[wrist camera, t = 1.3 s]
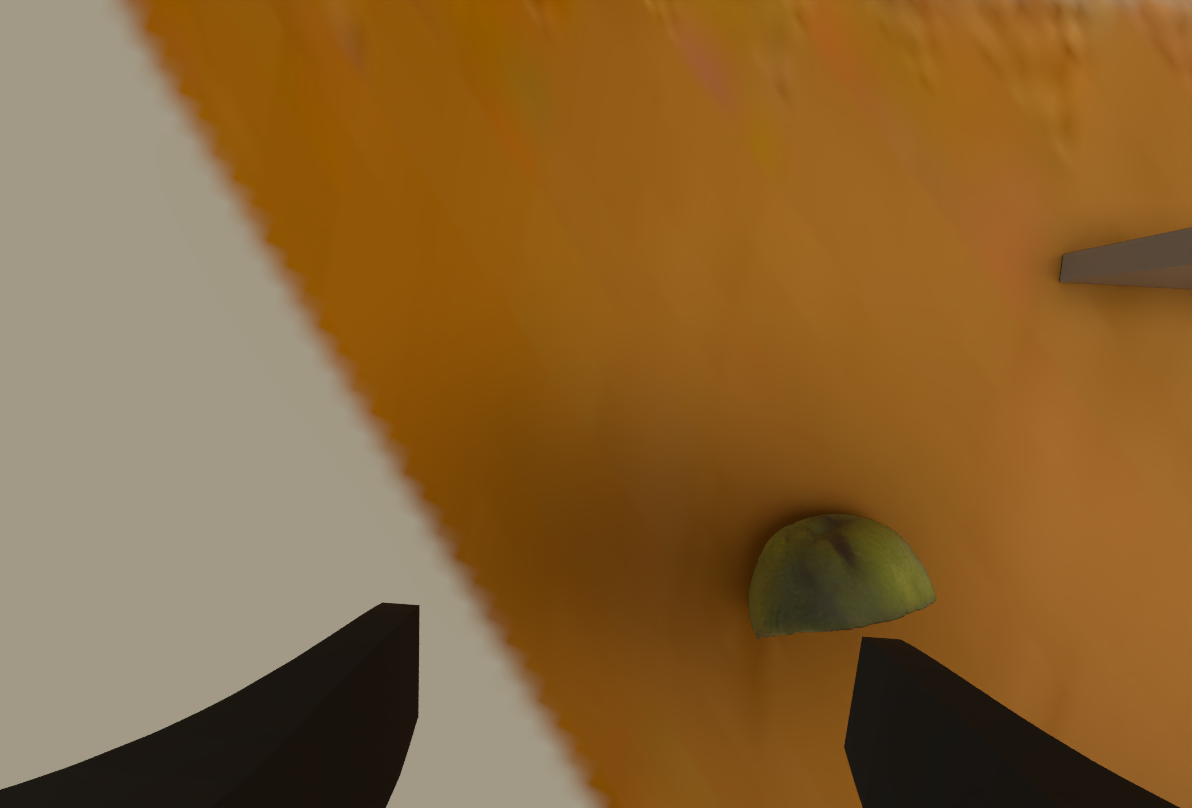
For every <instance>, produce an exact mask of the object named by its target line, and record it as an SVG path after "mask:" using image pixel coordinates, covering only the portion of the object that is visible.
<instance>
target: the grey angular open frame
mask: <svg viewBox="0 0 1192 808" xmlns="http://www.w3.org/2000/svg"><path fill="white" fill-rule="evenodd" d="M1060 282H1069V283H1087V284H1106V285H1124V286H1143V287H1161V288H1180V289H1192V228H1187V229H1182V230H1177V231H1172V232H1168V233H1163V234H1158V235H1153V236H1148V237H1144V238H1139V239H1134V240H1129V241H1124V242H1120V243H1115V244H1110V245H1105V246H1100V247H1096V248H1091V249H1086V250H1081V251H1076V252H1072V253H1067V254H1063V261H1062V268H1061V275H1060Z"/></svg>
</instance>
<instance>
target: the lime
mask: <svg viewBox="0 0 1192 808" xmlns="http://www.w3.org/2000/svg"><path fill="white" fill-rule="evenodd" d="M935 601H936V595H935V592H934V588H933V586H932V583H931V580H930V578H929V575H928V574H927V571H926V569H925V568H924V567H923V565H922V564H921V562H920V560H919V559H918V558H917V556H916V555H915V553H914V552H913V550H912V548H911V547H910V546H909V545H908V543H907V542H906V541H905V540H904V539H902V537H901V536H899V535H898V534H897V533H896V532H895V531H893V530H892V529H890V528H889V527H887V526H884V525H882V524H880V523H878V522H875V521H873V520H870V519H866V518H863V517H860V516H856V515H849V514H825V515H819V516H817V517H809V518H806V519H803V520H800V521H797V522H795V523H794V524H791V525H788V526H786V527H784V528H782V529H780V530H779V531H778V532H776V533H775V534H774V535H773V536H772V537H771V538H770V539H769V540H768V542H767V543H766V545H765V547H764V549H763V551H762V552H761V555H760V556H759V559H758V562H757V564H756V567H755V570H754V573H753V576H752V581H751V584H750V588H749V613H750V620H751V624H752V627H753V629H754V632H755V634H756V637H757V638H758V639H759V638H761V637H769V636H775V635H790V634H794V633H796V632H800V633H801V632H827V631H836V630H837V631H838V630H851V629H853V628H861V627H864V626H868V625H871V624H877V623H882V622H889V621H892V620H895V619H898V618H901V617H904V615H905V614H910V613H911V612H913V611H916V610H921V609H923V608H925V607H927V606H928V605H930V604H932V603H934V602H935Z"/></svg>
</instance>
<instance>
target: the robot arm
mask: <svg viewBox="0 0 1192 808" xmlns="http://www.w3.org/2000/svg"><path fill="white" fill-rule="evenodd" d="M418 691H419V605H407V604H394V603H381V604H379V605H377V606H375V607H374V608H372V609H370V610H369V611H367V612H366V613H364V614H363V615H361V616H359V617H358V618H356V619H355V620H353V621H352V622H350V623H349V624H347V625H346V626H344V627H343V628H341V629H340V630H339V631H337V632H335V633H334V634H332V635H331V636H329V637H327V638H326V639H324V640H323V641H321V642H320V643H318V644H317V645H315V646H313V647H312V648H310V649H309V650H307V651H306V652H304V653H303V654H301V655H300V656H298V657H297V658H295V659H293V660H291V661H290V662H288V663H286V664H285V665H283V666H281V667H280V668H278V669H276V670H274V671H273V672H271V673H269V674H268V675H266V676H264V677H262V678H261V679H259V680H257V681H255V682H254V683H252V684H250V685H249V686H247V687H245V688H244V689H242V690H240V691H238V692H237V693H235V694H233V695H231V696H229V697H227V698H225V699H224V700H222V701H220V702H218V703H216V704H214V705H212V706H210V707H208V708H206V709H204V710H202V711H200V712H198V713H196V714H193V715H191V716H189V717H188V718H185V719H183V720H181V721H179V722H177V723H174V724H172V725H170V726H168V727H166V728H164V729H162V730H159V731H157V732H155V733H152V734H151V735H148V736H146V737H143V738H140V739H138V740H135V741H133V742H131V743H128V744H125V745H123V746H120V747H118V748H115V749H113V750H110V751H108V752H105V753H103V754H101V755H98V756H95V757H93V758H91V759H88V760H85V761H83V762H81V763H78V764H75V765H72V766H70V767H67V768H64V769H62V770H58V771H55V772H53V773H50V774H47V775H44V776H41V777H38V778H35V779H32V780H29V781H26V782H23V783H20V784H17V785H14V786H11V787H8V788H5V789H1V790H0V808H386V806H387V804H388V801H389V799H390V797H391V795H392V792H393V790H394V788H395V786H396V783H397V781H398V779H399V776H400V773H401V770H402V767H403V764H404V761H405V758H406V755H407V752H408V749H409V745H410V742H411V739H412V735H413V732H414V729H415V725H416V722H417V719H418V696H419V695H418ZM844 748H845V751H846V755H847V758H848V762H849V765H850V768H851V772H852V775H853V779H854V782H855V785H856V788H857V791H858V794H859V797H860V800H861V803H862V807H863V808H1179V807H1177V806H1175V805H1174V804H1172V803H1170V802H1168V801H1166V800H1164V799H1162V798H1160V797H1158V796H1156V795H1155V794H1153V793H1151V792H1149V791H1147V790H1145V789H1143V788H1141V787H1139V786H1137V785H1136V784H1134V783H1132V782H1130V781H1128V780H1126V779H1124V778H1122V777H1120V776H1119V775H1117V774H1115V773H1113V772H1111V771H1110V770H1108V769H1106V768H1104V767H1103V766H1101V765H1099V764H1097V763H1096V762H1094V761H1092V760H1090V759H1089V758H1087V757H1085V756H1084V755H1082V754H1080V753H1079V752H1077V751H1075V750H1074V749H1072V748H1070V747H1069V746H1067V745H1065V744H1064V743H1062V742H1060V741H1059V740H1057V739H1055V738H1054V737H1052V736H1050V735H1049V734H1047V733H1046V732H1044V731H1042V730H1041V729H1039V728H1038V727H1036V726H1034V725H1033V724H1031V723H1030V722H1028V721H1027V720H1025V719H1023V718H1022V717H1020V716H1019V715H1017V714H1016V713H1014V712H1013V711H1011V710H1010V709H1008V708H1006V707H1005V706H1003V705H1002V704H1000V703H999V702H997V701H996V700H994V699H993V698H991V697H990V696H988V695H987V694H985V693H984V692H982V691H981V690H979V689H978V688H976V687H975V686H973V685H972V684H970V683H969V682H967V681H966V680H964V679H963V678H961V677H960V676H958V675H957V674H955V673H954V672H952V671H951V670H949V669H948V668H946V667H945V666H943V665H942V664H940V663H939V662H937V661H936V660H934V659H933V658H931V657H930V656H928V655H926V654H925V653H923V652H922V651H920V650H918V649H917V648H915V647H913V646H912V645H910V644H908V643H906V642H904V641H902V640H900V639H886V638H872V637H862V642H861V648H860V654H859V660H858V666H857V672H856V678H855V684H854V690H853V696H852V702H851V709H850V715H849V721H848V727H847V733H846V739H845V745H844Z"/></svg>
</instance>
